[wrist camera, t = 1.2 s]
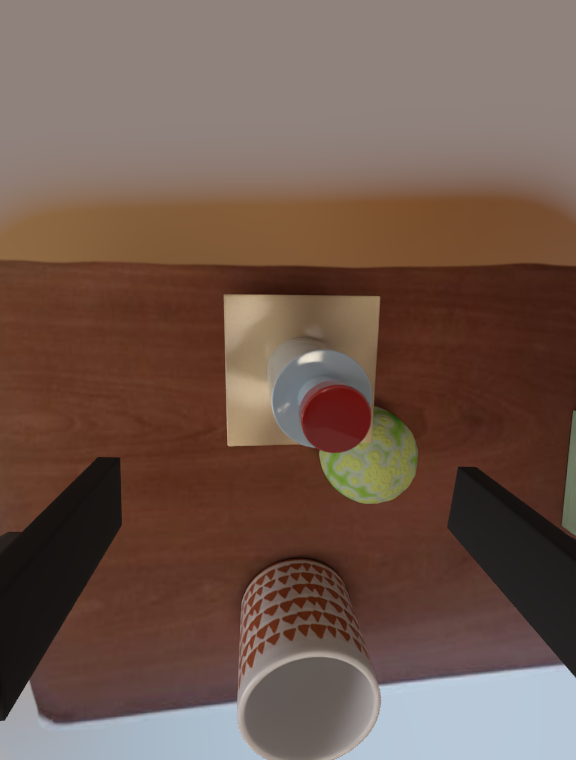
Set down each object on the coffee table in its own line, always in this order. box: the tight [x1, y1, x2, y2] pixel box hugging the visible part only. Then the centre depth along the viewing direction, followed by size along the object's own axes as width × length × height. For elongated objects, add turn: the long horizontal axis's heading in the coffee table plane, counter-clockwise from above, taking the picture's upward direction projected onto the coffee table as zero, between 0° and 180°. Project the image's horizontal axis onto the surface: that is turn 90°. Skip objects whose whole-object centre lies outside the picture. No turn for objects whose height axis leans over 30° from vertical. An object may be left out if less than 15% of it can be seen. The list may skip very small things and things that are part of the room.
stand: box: [224, 294, 380, 446], centre depth 32 cm, size 10×10×16 cm
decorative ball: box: [319, 406, 418, 503], centre depth 37 cm, size 10×10×10 cm
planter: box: [237, 559, 381, 760], centre depth 40 cm, size 14×14×13 cm
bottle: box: [266, 337, 372, 453], centre depth 19 cm, size 5×5×10 cm
